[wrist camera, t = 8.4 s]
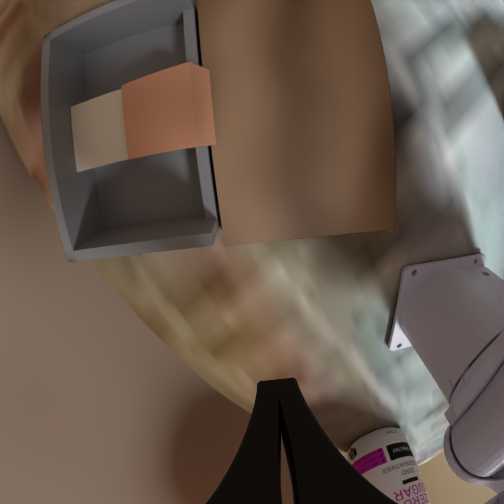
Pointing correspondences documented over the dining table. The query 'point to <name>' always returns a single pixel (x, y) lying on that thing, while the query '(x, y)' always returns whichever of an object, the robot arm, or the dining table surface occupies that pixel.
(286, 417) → the robot arm
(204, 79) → the tile terracotta
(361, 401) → the dining table surface
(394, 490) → the supplement can
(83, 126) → the tile cream
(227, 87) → the walnut plate
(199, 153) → the box
